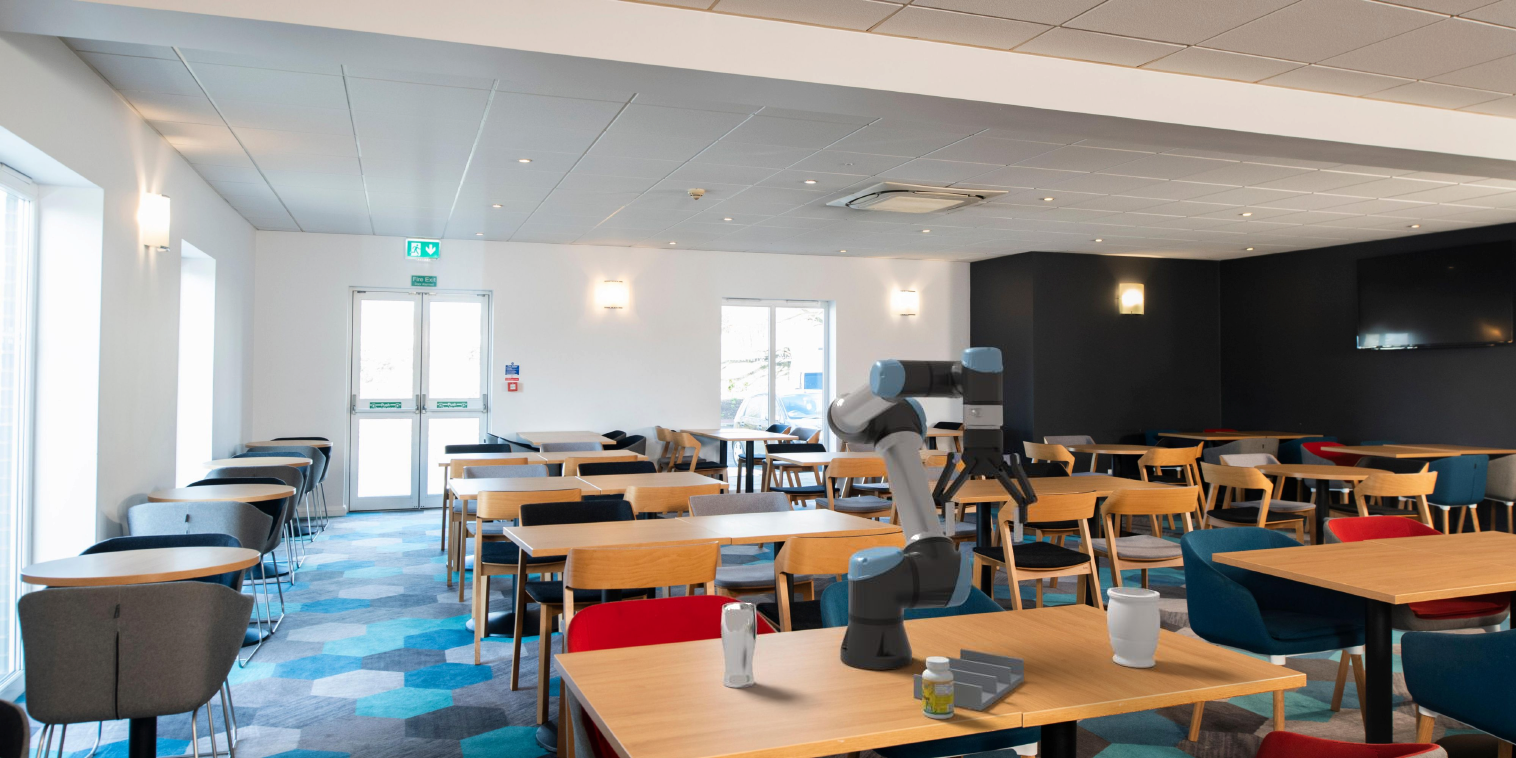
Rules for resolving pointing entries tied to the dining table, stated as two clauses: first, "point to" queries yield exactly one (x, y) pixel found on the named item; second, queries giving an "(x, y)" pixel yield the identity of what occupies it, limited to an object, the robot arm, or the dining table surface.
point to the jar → (1133, 625)
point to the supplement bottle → (938, 689)
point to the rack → (979, 678)
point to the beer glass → (738, 643)
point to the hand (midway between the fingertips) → (983, 538)
